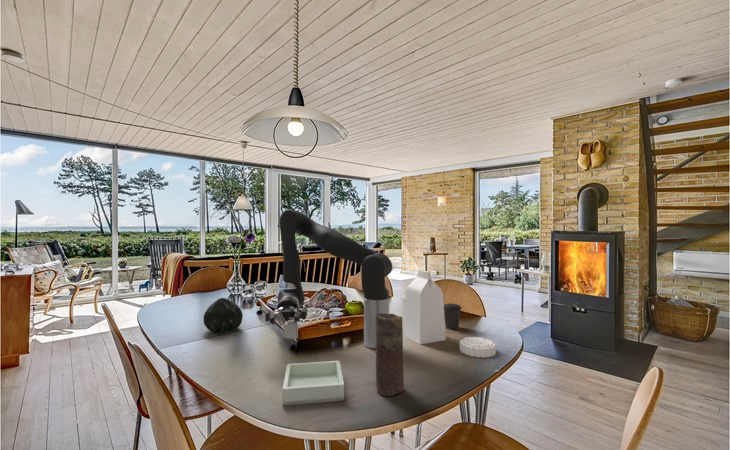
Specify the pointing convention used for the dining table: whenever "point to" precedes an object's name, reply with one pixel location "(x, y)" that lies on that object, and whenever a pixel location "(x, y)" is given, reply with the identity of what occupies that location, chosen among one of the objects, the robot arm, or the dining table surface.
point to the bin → (313, 383)
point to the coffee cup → (452, 316)
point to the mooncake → (477, 347)
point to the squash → (223, 316)
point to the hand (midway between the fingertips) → (284, 320)
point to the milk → (424, 310)
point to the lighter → (288, 326)
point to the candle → (389, 354)
